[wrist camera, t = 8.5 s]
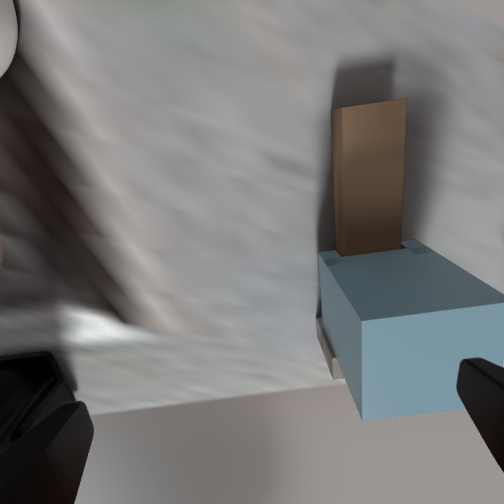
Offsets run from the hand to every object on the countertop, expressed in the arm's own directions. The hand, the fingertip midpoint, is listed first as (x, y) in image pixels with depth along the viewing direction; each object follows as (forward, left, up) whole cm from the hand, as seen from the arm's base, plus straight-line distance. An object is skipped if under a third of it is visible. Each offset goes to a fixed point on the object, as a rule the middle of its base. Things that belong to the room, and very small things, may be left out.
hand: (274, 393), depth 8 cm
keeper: (+6, -4, -12) cm, 14 cm away
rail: (+6, -1, -12) cm, 14 cm away
